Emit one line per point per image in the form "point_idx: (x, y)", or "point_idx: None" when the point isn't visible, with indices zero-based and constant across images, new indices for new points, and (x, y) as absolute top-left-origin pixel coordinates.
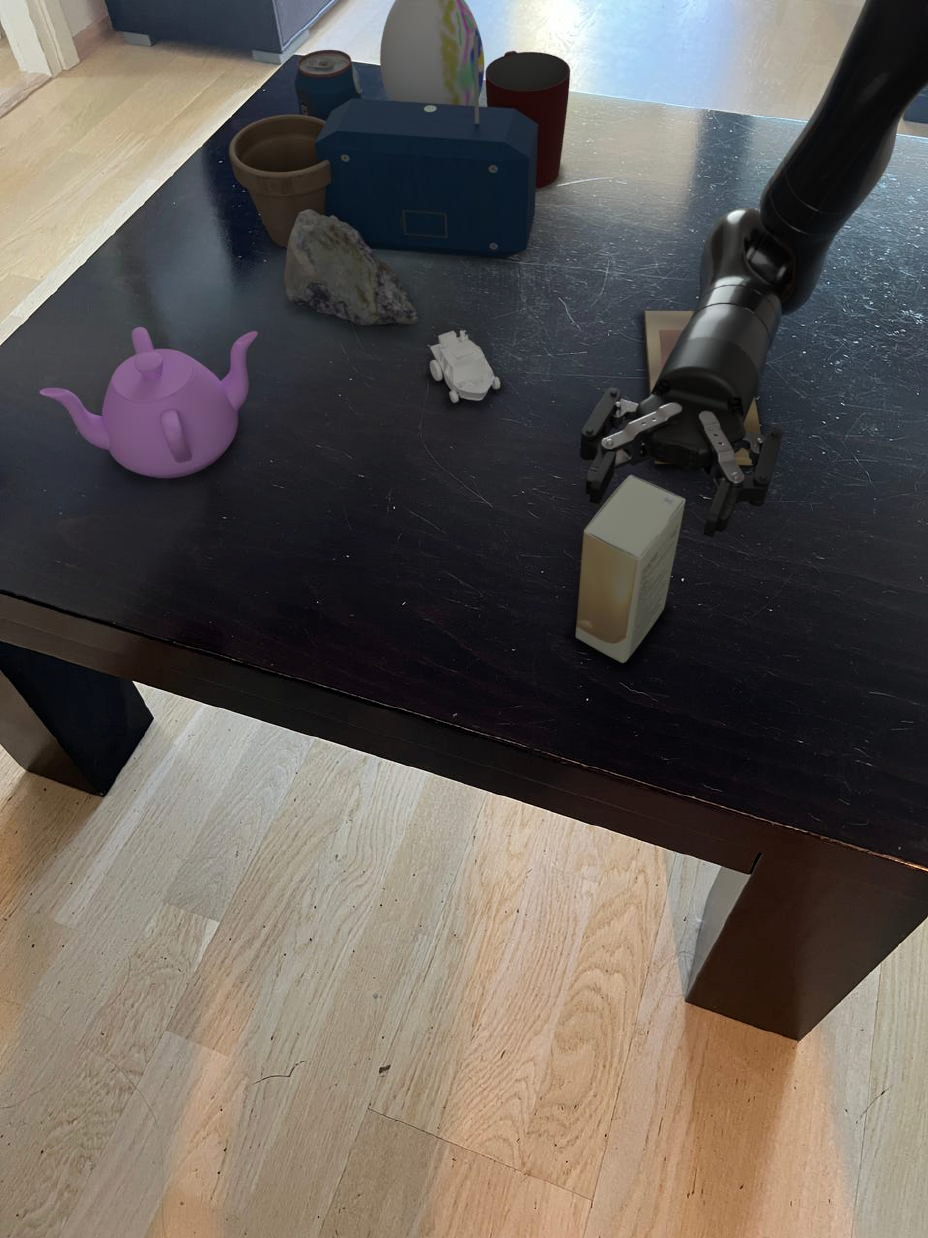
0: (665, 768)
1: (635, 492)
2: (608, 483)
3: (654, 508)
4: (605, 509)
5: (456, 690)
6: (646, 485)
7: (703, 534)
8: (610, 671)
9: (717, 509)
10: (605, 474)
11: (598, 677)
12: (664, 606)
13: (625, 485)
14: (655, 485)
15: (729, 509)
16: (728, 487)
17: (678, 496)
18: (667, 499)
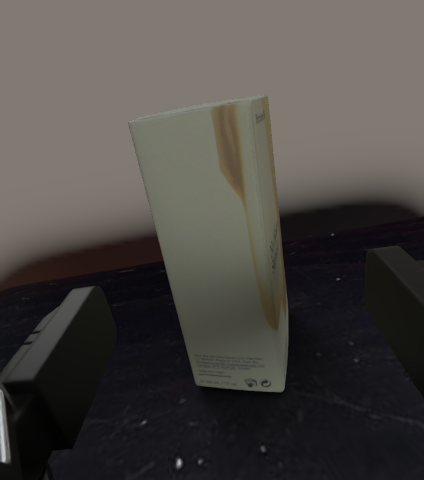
0: (162, 267)
1: (222, 101)
2: (404, 358)
3: (180, 108)
4: (256, 97)
5: (349, 242)
6: (207, 104)
7: (116, 329)
8: None
9: (71, 298)
10: (388, 266)
11: None
12: (194, 379)
13: (247, 99)
14: (190, 110)
15: (39, 329)
16: (17, 363)
17: (141, 118)
18: (161, 112)
